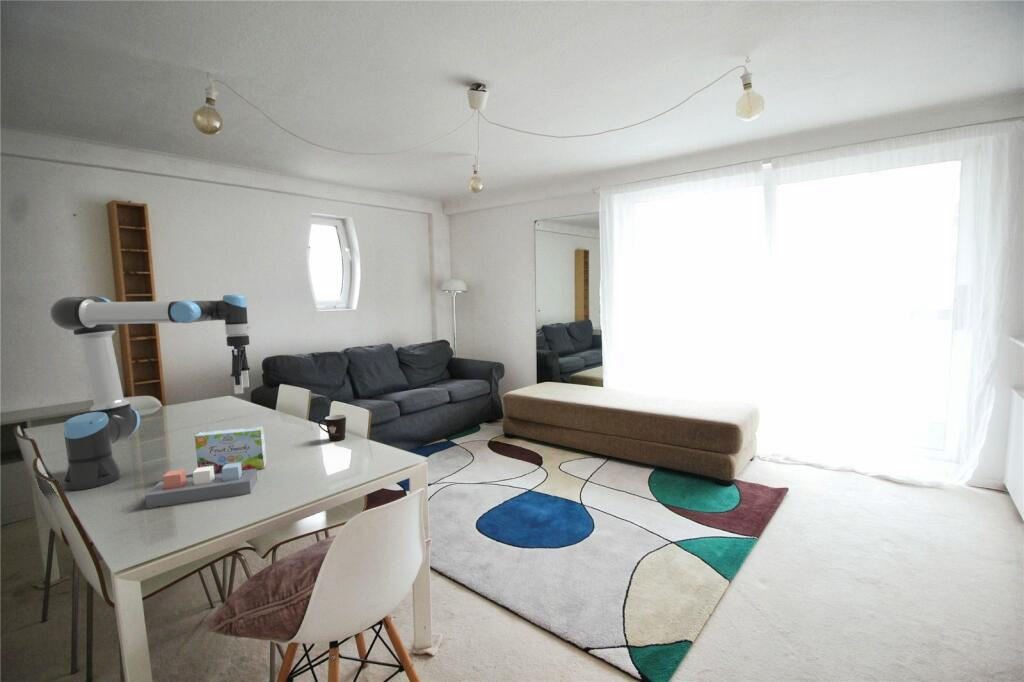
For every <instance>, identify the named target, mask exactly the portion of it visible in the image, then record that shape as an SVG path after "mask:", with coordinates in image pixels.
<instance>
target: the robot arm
mask: <svg viewBox="0 0 1024 682" xmlns="http://www.w3.org/2000/svg"><path fill="white" fill-rule="evenodd" d="M247 307H248V306H247V300H246V297H245V295H243V294H224V295H223V296H222V299H221V300H220V299H219V300H177V301H176V300H175V301H171V300H169V301H163V300H162V301H111V300H110V299H108V298H105V297H100V296H93V295H92V296H67V297H62V298H59V299H58V300H56V301H55V302H54V303H53V304H52V306H51V307H50V311H49V315H50V318H51V320H52V322H53V323H54V324H55V325H57V327H59V328H61V329H63V330H68V331H73V335H74V337H76V338H78V339H79V340H80V341H81V347H82V351H83V357H84V362H85V366H86V371H87V376H88V380H89V385H90V389H91V396H92V399H93V405H92V406H91V407H90V409H89V411H90V412H87V413H83V414H79V415H75V416H73V417H70V418H69V419H67V420H66V421H65V422H64V425H63V437H64V441H65V448H66V449H65V450H66V456H67V464H68V466H67V469H66V471H65V472H66V473H65V476H64V479H63V487H64V489H65V490H66V491H80V490H86V489H87V490H88V489H93V488H97V487H101V486H104V485H107V484H110V483H113V482H115V481H117V480H119V479H120V478H121V477H122V472H121V471H122V470H121V469H120V467H119V465H118V463H117V462H116V460H115V458H114V457H113V451H112V444H115V443H116V442H119V441H122V440H125V439H128V438H129V437H130V436H131V435H133V434H135V432H136V431H137V430H138V428H139V427H140V424H141V416H140V414H139V412H138V411H137V410H135V409H134V408H133V407H131V403H130V401H128V400H127V399H125V398H124V393H123V387H122V383H121V378H120V372H119V368H118V363H117V358H116V352H115V348H114V343H113V338H112V337H113V335H114V334H115V333H116V331H117V330H116V327H115V325H130V324H131V325H132V324H171V323H174V324H175V323H176V324H180V323H181V324H193V323H200V322H208V321H209V322H210V321H213V322H214V321H224V327H225V328H224V329H225V335H227V336H226V338H225V339H226V346H227V347H233V349H231V355H232V356H231V361H232V362H231V374H230V377H233V388H234V390H233V391H234V395H236V394H237V395H238V394H244V388H250V382H249V381H250V380H249V372H248V371H250V370H251V368H250V367H249V364H248V363H249V362H248V357H247V351H246V346H250V335H248V334H249V329H250V328H251V327H250V325H249V324H248V323H249V321H248V308H247Z"/></svg>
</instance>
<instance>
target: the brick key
mask: <svg viewBox="0 0 1024 682" xmlns="http://www.w3.org/2000/svg"><path fill="white" fill-rule="evenodd" d="M186 478H187V476H186V469H185V468H184V469H179V470H178V469H177V470H170V471H167V472H166V473H165V474H164V475H163V476H162V481H163V483H164V489H171V488H178V487H183V486H184V485H185V484H186Z"/></svg>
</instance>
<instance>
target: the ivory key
mask: <svg viewBox="0 0 1024 682" xmlns="http://www.w3.org/2000/svg"><path fill="white" fill-rule="evenodd" d="M192 477H193V480H194V485H200V484H208V483H212V482H213V480H214V479H215V477H214V467H213V466H208V467H200V468H198V467H196V469H194V471H193V472H192Z"/></svg>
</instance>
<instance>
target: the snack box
mask: <svg viewBox="0 0 1024 682" xmlns="http://www.w3.org/2000/svg"><path fill="white" fill-rule="evenodd" d="M265 440H266V439H265V430H264V426H253V427H251V426H250V427H240V428H231V429H220V430H219V429H218V430H209V431H208V430H207V431H199V432H198V433H197V434H195V435H194V443H195V452H196V461H197V462H196V463H197V468H200V467H208V466H213V467H214V474H219V473H222V468H223V467H224V465H225V464H231V463H239V462H241V468H242V470H250V469H257V471H260V469H261V470H264V469H265V468H266V466H267V465H268V464H267V452H266V443H265Z"/></svg>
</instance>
